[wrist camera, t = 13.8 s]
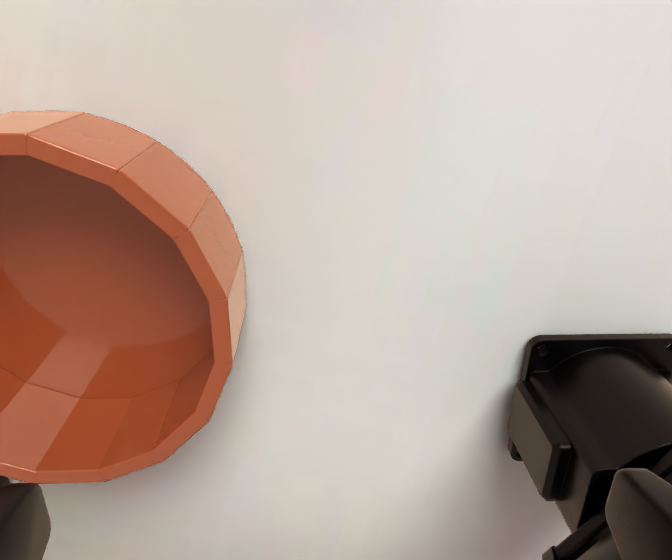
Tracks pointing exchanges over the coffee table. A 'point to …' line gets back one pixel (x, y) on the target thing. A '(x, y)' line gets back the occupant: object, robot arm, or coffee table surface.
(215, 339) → the desk pot
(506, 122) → the coffee table surface
